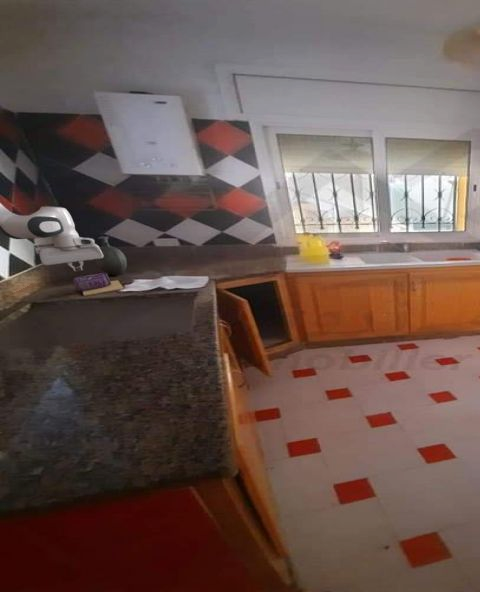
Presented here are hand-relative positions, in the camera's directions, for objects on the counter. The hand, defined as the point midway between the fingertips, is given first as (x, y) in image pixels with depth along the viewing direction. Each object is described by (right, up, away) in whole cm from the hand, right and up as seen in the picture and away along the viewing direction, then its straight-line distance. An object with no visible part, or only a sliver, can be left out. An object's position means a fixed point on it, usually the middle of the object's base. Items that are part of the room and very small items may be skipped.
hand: (78, 270), depth 151 cm
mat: (+3, -8, +8) cm, 12 cm away
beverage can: (-2, -7, 0) cm, 7 cm away
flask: (-13, 0, +31) cm, 34 cm away
